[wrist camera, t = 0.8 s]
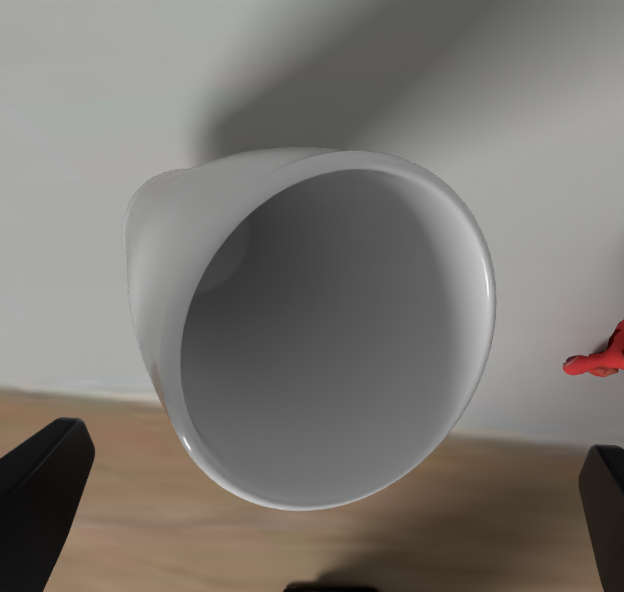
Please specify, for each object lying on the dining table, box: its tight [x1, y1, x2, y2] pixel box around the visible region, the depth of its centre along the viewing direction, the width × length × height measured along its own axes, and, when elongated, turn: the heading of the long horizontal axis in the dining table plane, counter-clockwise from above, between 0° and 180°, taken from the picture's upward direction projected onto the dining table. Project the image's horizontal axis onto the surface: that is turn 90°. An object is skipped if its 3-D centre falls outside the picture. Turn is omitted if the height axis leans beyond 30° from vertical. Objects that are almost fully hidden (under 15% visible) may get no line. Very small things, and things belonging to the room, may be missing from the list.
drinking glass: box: [122, 147, 496, 511], centre depth 15 cm, size 7×7×15 cm
